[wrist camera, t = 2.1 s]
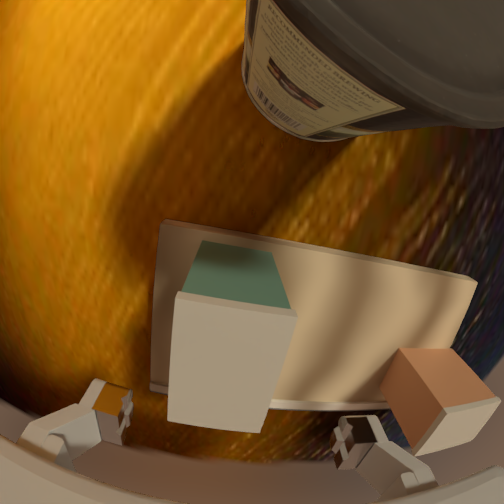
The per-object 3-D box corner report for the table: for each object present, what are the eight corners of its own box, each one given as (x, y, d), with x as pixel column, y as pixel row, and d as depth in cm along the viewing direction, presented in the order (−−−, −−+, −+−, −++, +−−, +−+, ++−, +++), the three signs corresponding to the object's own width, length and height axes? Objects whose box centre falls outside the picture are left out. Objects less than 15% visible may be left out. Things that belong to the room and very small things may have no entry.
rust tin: (398, 346, 22) (447, 413, 14) (452, 347, 23) (501, 400, 15) (377, 388, 24) (413, 457, 16) (431, 385, 24) (471, 441, 16)
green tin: (188, 333, 21) (167, 420, 13) (200, 238, 19) (175, 298, 11) (253, 343, 21) (261, 433, 13) (274, 251, 19) (300, 317, 11)
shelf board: (154, 379, 24) (149, 392, 22) (165, 218, 20) (158, 224, 18) (411, 396, 26) (417, 407, 25) (468, 276, 22) (479, 283, 21)
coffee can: (396, 43, 16) (530, -24, 3) (365, 163, 19) (533, 190, 6) (265, -9, 15) (297, -153, 2) (219, 114, 18) (180, 20, 5)
